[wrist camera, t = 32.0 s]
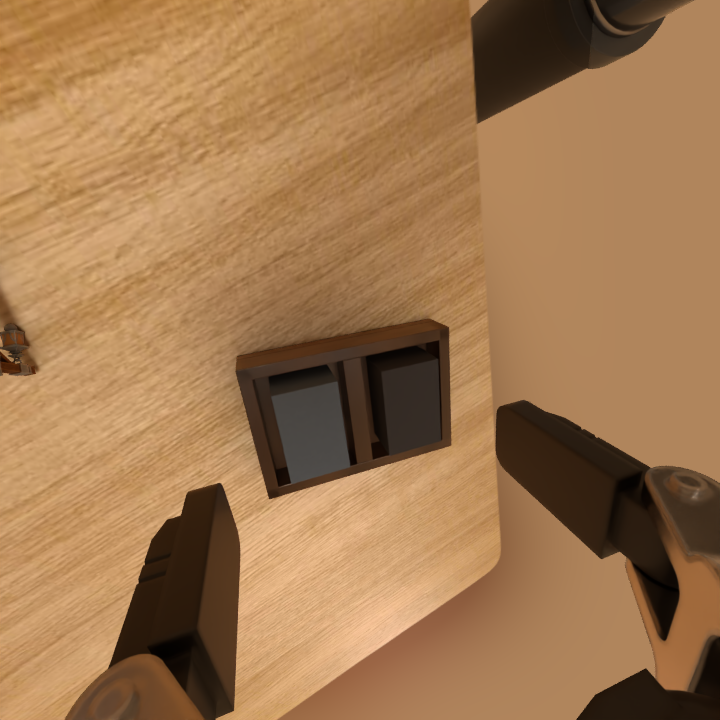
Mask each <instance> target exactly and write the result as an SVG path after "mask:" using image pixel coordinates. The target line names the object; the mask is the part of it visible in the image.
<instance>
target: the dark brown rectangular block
mask: <svg viewBox="0 0 720 720" xmlns="http://www.w3.org/2000/svg"><path fill="white" fill-rule="evenodd" d="M366 362H367V371H368V380H369V388H370V397H371V405H372V414H373V423H374V431H375V434H376V436H377V437H378V439H379V440H380V442H381V443H382V445H383V446H384V448H385V450H386V451H387V453H388V454H389V456H392V455H395V454H399V453H402V452H406V451H409V450H412V449H416V448H419V447H423V446H426V445H430V444H433V443H437V442H440V441H441V425H440V397H439V369H438V359H437V358H436V357H434V356H433V355H431V354H429V353H428V352H426V351H425V350H423V349H421V348H420V347H418V346H413V347H408V348H404V349H399V350H394V351H390V352H385V353H380V354H376V355H371V356H367V357H366Z"/></svg>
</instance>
